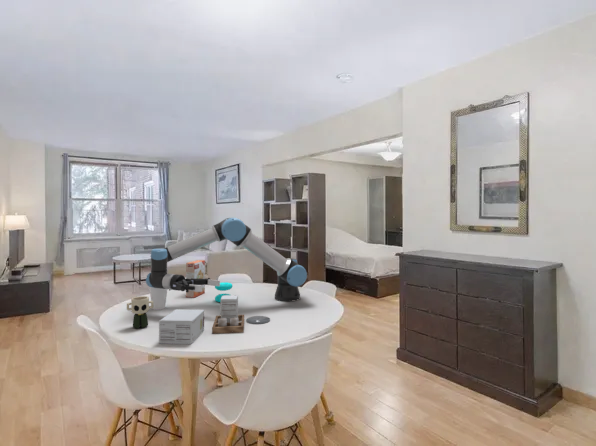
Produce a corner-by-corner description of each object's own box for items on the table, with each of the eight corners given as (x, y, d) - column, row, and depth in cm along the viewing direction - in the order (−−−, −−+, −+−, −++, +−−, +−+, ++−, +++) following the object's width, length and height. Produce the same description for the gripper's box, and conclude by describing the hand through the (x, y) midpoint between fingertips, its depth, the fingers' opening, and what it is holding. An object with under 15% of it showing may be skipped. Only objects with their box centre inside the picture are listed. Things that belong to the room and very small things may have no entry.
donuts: (226, 281, 215) (235, 283, 207) (226, 297, 215) (235, 300, 208) (211, 283, 208) (220, 286, 201) (211, 300, 208) (220, 303, 201)
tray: (244, 319, 171) (244, 309, 171) (243, 332, 153) (243, 320, 153) (216, 320, 169) (216, 310, 169) (212, 333, 151) (212, 321, 151)
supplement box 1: (192, 344, 139) (192, 320, 139) (158, 344, 140) (158, 320, 140) (204, 330, 156) (204, 309, 156) (174, 330, 157) (174, 308, 156)
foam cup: (172, 307, 194) (171, 283, 194) (158, 311, 186) (158, 286, 185) (158, 305, 198) (158, 281, 198) (145, 309, 190) (145, 284, 189)
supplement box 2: (222, 322, 167) (222, 295, 167) (238, 321, 168) (238, 294, 168) (220, 327, 160) (220, 299, 160) (237, 326, 161) (237, 298, 160)
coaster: (269, 316, 176) (269, 315, 176) (270, 323, 165) (270, 322, 165) (246, 317, 175) (246, 316, 175) (246, 324, 164) (246, 323, 164)
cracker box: (194, 298, 214) (194, 263, 213) (185, 297, 215) (185, 262, 215) (205, 293, 228) (205, 260, 227) (196, 292, 229) (196, 259, 228)
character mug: (126, 331, 155) (126, 301, 154) (127, 326, 161) (126, 297, 161) (154, 327, 159) (153, 298, 159) (153, 323, 166) (153, 295, 165)
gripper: (191, 285, 187) (226, 288, 179) (155, 295, 164) (193, 299, 156) (191, 270, 187) (226, 273, 178) (155, 278, 164) (193, 282, 155)
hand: (210, 285), depth 167 cm, fingers open, 13 cm apart
